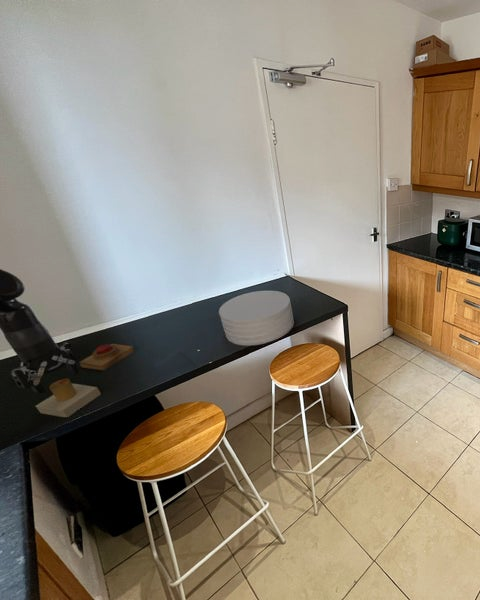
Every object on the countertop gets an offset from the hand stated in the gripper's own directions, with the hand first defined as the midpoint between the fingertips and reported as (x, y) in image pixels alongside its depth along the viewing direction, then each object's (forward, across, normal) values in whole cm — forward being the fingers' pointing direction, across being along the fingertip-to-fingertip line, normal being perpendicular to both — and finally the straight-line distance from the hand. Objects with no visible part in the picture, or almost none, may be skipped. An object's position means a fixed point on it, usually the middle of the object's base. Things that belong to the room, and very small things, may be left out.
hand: (59, 383), depth 95 cm
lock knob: (+5, 0, 0) cm, 5 cm away
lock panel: (+8, 0, 0) cm, 8 cm away
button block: (+8, -21, -11) cm, 25 cm away
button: (+5, -21, -11) cm, 24 cm away
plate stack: (+9, -52, +33) cm, 62 cm away
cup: (+8, -12, -27) cm, 31 cm away
